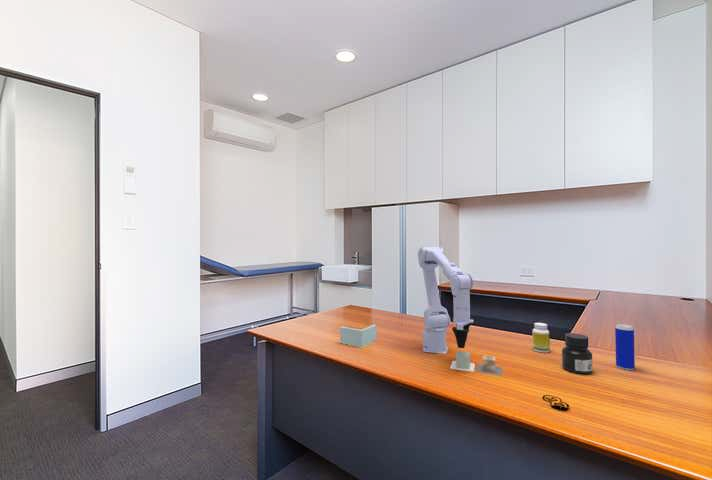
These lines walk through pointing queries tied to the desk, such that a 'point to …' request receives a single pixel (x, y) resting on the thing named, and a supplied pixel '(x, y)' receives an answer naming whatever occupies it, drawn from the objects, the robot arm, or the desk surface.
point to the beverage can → (624, 346)
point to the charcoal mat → (480, 370)
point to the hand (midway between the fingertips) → (462, 344)
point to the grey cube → (489, 363)
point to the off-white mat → (472, 365)
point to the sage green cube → (463, 360)
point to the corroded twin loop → (558, 407)
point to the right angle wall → (358, 336)
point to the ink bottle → (577, 354)
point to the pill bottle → (541, 338)
